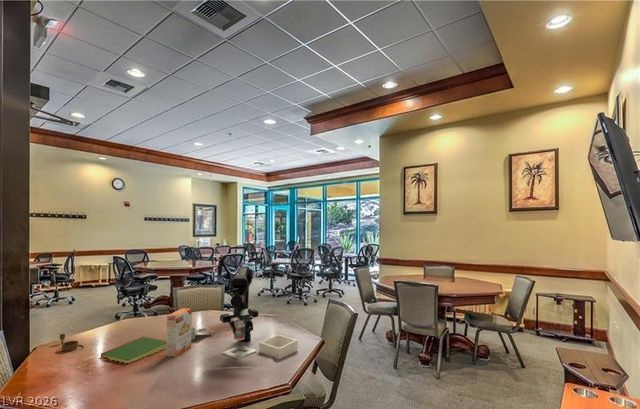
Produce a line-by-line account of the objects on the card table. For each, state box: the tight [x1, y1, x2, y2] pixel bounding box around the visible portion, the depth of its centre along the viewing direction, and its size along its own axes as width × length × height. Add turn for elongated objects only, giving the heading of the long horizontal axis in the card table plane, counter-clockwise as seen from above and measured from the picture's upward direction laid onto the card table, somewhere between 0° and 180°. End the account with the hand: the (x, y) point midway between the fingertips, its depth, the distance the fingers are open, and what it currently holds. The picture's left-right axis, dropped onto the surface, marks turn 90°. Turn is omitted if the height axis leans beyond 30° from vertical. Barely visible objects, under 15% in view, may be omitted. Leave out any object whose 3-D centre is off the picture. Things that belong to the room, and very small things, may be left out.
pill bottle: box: [233, 318, 245, 341], centre depth 174 cm, size 5×5×10 cm
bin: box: [258, 334, 298, 360], centre depth 177 cm, size 14×14×6 cm
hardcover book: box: [100, 336, 166, 364], centre depth 175 cm, size 25×19×4 cm
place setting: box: [55, 333, 85, 354], centre depth 182 cm, size 18×20×6 cm
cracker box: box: [165, 307, 193, 358], centre depth 177 cm, size 14×6×21 cm, turn 169°
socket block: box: [221, 344, 257, 360], centre depth 174 cm, size 12×12×2 cm
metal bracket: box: [191, 327, 214, 340], centre depth 201 cm, size 14×6×15 cm
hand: (239, 332), depth 174 cm, fingers closed on pill bottle, 5 cm apart
